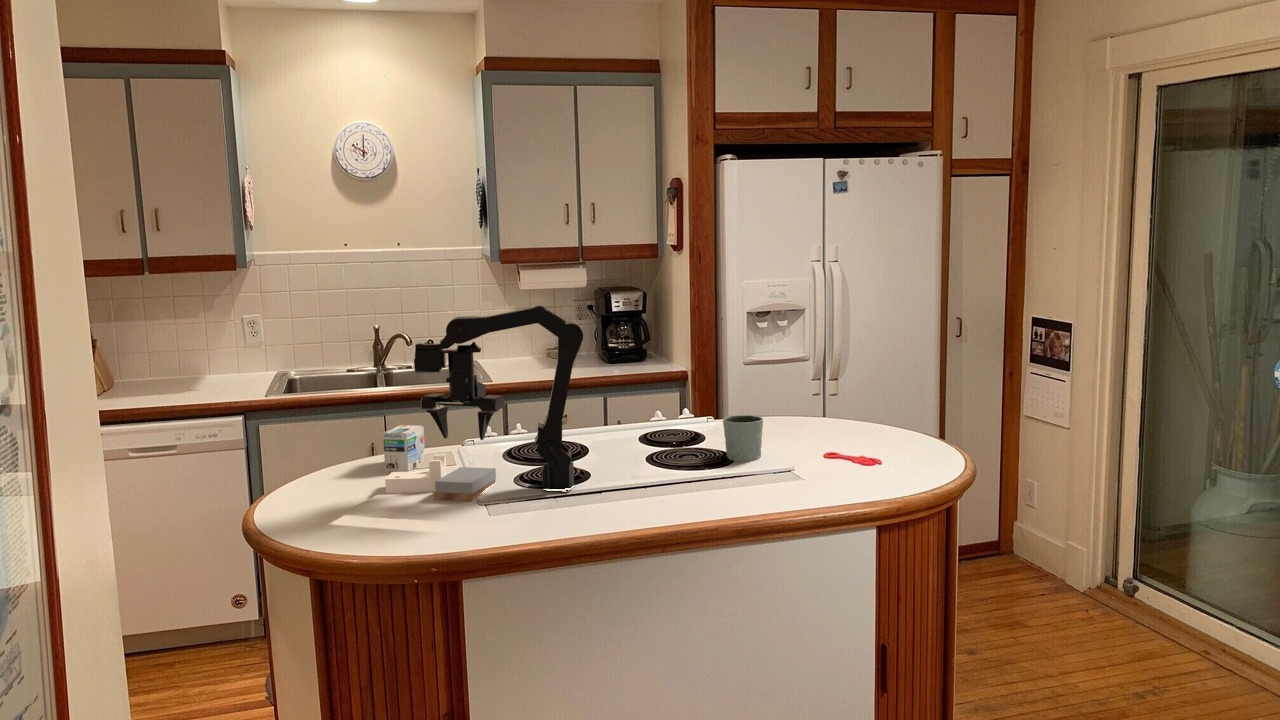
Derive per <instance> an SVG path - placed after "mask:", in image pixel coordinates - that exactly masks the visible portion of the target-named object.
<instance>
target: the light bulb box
mask: <svg viewBox="0 0 1280 720" xmlns="http://www.w3.org/2000/svg"><path fill="white" fill-rule="evenodd" d="M424 427H425V426H424V425H408V424H406V425H405V424H400V425H398V426H395V427H393V428H391V429H389V430H387V431H384V432H382V436H383V437H382V440H383V453H384V472H385V473H392V472H413V471H414V469H416V468H417V467H419V466H420V465H421V464H422V463H421V462H423V461H424V460H425V461H426V453H425V452H426V451H425V450H426V449H425V431H424ZM425 461H424V462H425ZM424 462H423V463H424ZM420 463H421V464H420ZM419 464H420V465H419ZM418 465H419V466H418Z"/></svg>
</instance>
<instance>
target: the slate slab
mask: <svg viewBox="0 0 1280 720" xmlns="http://www.w3.org/2000/svg"><path fill="white" fill-rule="evenodd" d="M495 479H496V480H497V469H496V468H493V467H492V468H491V467H467V466H466V467H465V466H464V467H463V466H460V467H458V468H456V469H455V470H453V471H451V472H450V473H448V474H447V473H446V476H444V477H442V478H440V479H439V480H437V481H435V490H436V492H441V493H464V494H473V493H475V492H476V491H478V490H479V489H481V488H482V487H484V486H485V485H487V484H489V483H490V482H492V481H493V480H495Z"/></svg>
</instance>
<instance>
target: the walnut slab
mask: <svg viewBox="0 0 1280 720" xmlns="http://www.w3.org/2000/svg"><path fill="white" fill-rule="evenodd" d="M496 481H497V478H496V479H495V480H493V481H492V482H490V483H489V484H487V485H485V486H484V487H482V488H481V489H479V490H478V491H476V492H475V493H473V494H464V493H441V492H436V491H435V492H433V497H434V499H433V500H434V501H444V502H445V501H447V502H463V503H472V502H473V501H475V500H477V499H478V498H479V497H478V496H479V495H480V494H481V493H482V492H483V491H484V490H485V489H486V488H488V487H489V486H491V485H492V484H494V483H495V482H496Z"/></svg>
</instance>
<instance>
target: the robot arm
mask: <svg viewBox="0 0 1280 720" xmlns="http://www.w3.org/2000/svg"><path fill="white" fill-rule="evenodd" d="M534 324H538V325H540V327H543V328H544V329H545V330H547V331H548V332H550V333H551V334H552V335H554V336H556V337H557V361H556V365H555V366H556V367H555V371H554V372H555V373H554V377H553V382H552V389H551V393H550V398H549V404H548V409H547V413H546V418H545V420H544V423H542V422H541V423H540V422H538V423H537V433H536V436H535V437H534V445H535V446H536V445H537V446H536V450H537V454H538V455H539V456H540V457H541V458H542V459H543V460H545V461H546V462H545V463H543V469H542V470H541V473H542V474H541V476H542V479H541V480H542V486H543V485H544V486H545V487H548V488H549V489H565V488H571V487H572V486H573V485H574V484H575V478H574V477H575V476H574V475H575V474H574V473H575V472H574V470H575V469H574V462H573V461H572V453H571V450H570V449H569V448H568V447H567V446H566V445H565V444H564V443H563V419H564V413H565V407H566V402H567V397H568V391H569V387H570V381H571V377H572V372H573V366H574V363H575V361H576V358H577V356H578V354H579V352H580V351H579V350H580V349H581V345H582V343H583V341H584V332H583V329H582V327H581V326H580V324H578V323H577V322H574V321H566V320H565V319H563V318H561V317H560V316H558V315H557V314H556V313H554V312H551V311H550V310H549V309H548V308H547V307H546V306H544V305H542V304H538V305H535V306H532V307H527V308H523V309H517V310H512V311H507V312H501V313H496V314H493V315H492V314H491V315H485V316H480V315H479V316H477V315H475V316H473V315H472V316H469V315H467V316H466V315H465V316H455V317H454V318H452V319H451V320H450V321H449V322H448V324H447V325H446V329H445V334H446V335H444V338H441V339H440V342H439V343H422V342H421V343H418V342H417V343H416V344H414V345H415V347H414V359H413V365H414V366H413V368H414V372H415V374H435V373H436V374H439V373H442V370H443V369H446V368H447V366H448V377H446V378H445V379H446V380H445V381H446V383H448V386H449V387H448V388H449V394H448V395H447V394H446V393H436V392H435V393H429V394H427V395H423V396H422V397H421V400H420V409H422V410H423V409H425V411H426V412H425V413H429V415H430V416H431V417H432V419H433V420H434V422H435V424H436V425H437V427H438V430H439V431H440V433H441V435H442V437H443V438H444V439H448V435H449V428H448V427H449V426H448V415H447V414H448V410H449V406H450V407H451V406H452V407H455V406H457V407H477V408H478V409H479V410H480V411H478V412H477V419H478V420H477V421H478V434H479V438H480V441H484V439H485V436H486V433H487V430H488V428H489V424H490V421H491V419H492V417H493V415H494V414H495V413H498V412H499V411H500V410H501V409H504V408H505V399H504V397H503V396H502V395H500V394H499V395H497V394H495V395H494V394H488V395H486V390H487V385H486V384H484V383H482V382H480V381H478V377H477V374H475V367H474V353H481V352H482V347H480V346H479V345H478V344H477V342H476V341H475V339H478V338H479V337H482V336H484V335H487V334H489V333H495V332H499V331H504V330H510V329H515V328H519V327H525V326H529V325H534ZM472 340H473V341H472ZM469 341H472V343H471V344H464V343H466V342H469ZM455 344H457V347H456V348H454V349H449V348H451V347H452V346H454V345H455ZM446 354H447V356H446ZM446 359H447V360H448V362H447V360H446ZM447 363H448V365H447ZM543 489H544V487H543V488H541V491H542V490H543ZM566 491H568V490H566Z"/></svg>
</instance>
